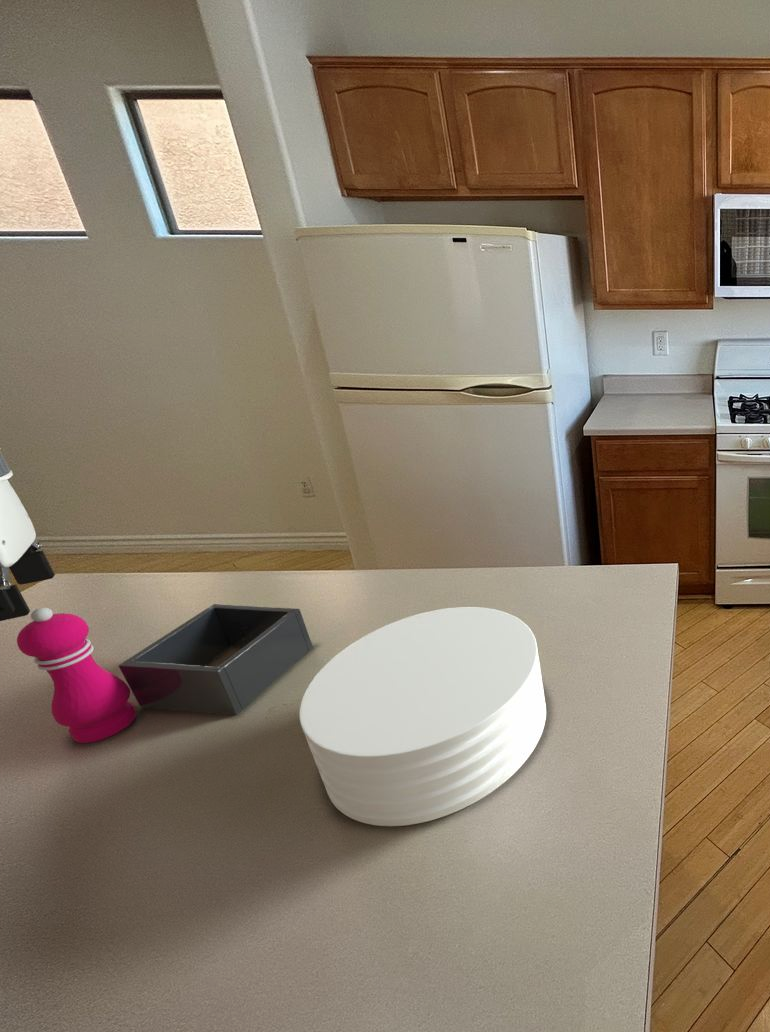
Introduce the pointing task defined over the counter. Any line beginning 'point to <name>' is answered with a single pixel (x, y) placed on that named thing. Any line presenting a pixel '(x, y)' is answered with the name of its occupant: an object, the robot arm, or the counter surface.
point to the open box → (187, 649)
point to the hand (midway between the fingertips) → (24, 598)
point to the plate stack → (425, 714)
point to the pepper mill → (76, 677)
